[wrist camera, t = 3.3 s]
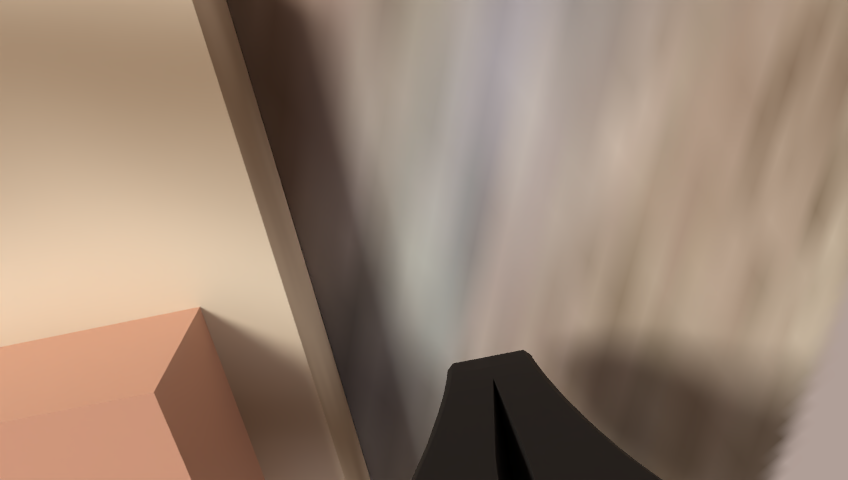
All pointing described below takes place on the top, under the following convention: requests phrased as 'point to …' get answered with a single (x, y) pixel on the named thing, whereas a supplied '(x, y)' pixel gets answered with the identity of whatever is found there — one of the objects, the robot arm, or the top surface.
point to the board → (162, 209)
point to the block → (122, 406)
